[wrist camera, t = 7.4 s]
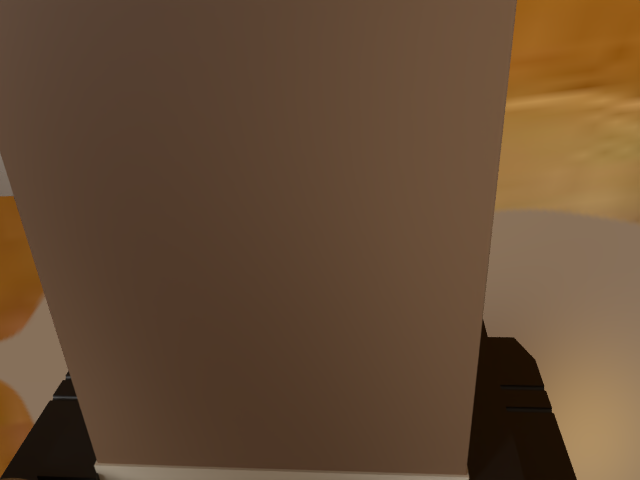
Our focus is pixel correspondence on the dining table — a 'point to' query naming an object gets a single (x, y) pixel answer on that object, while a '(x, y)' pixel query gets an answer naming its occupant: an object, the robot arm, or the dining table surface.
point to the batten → (262, 225)
